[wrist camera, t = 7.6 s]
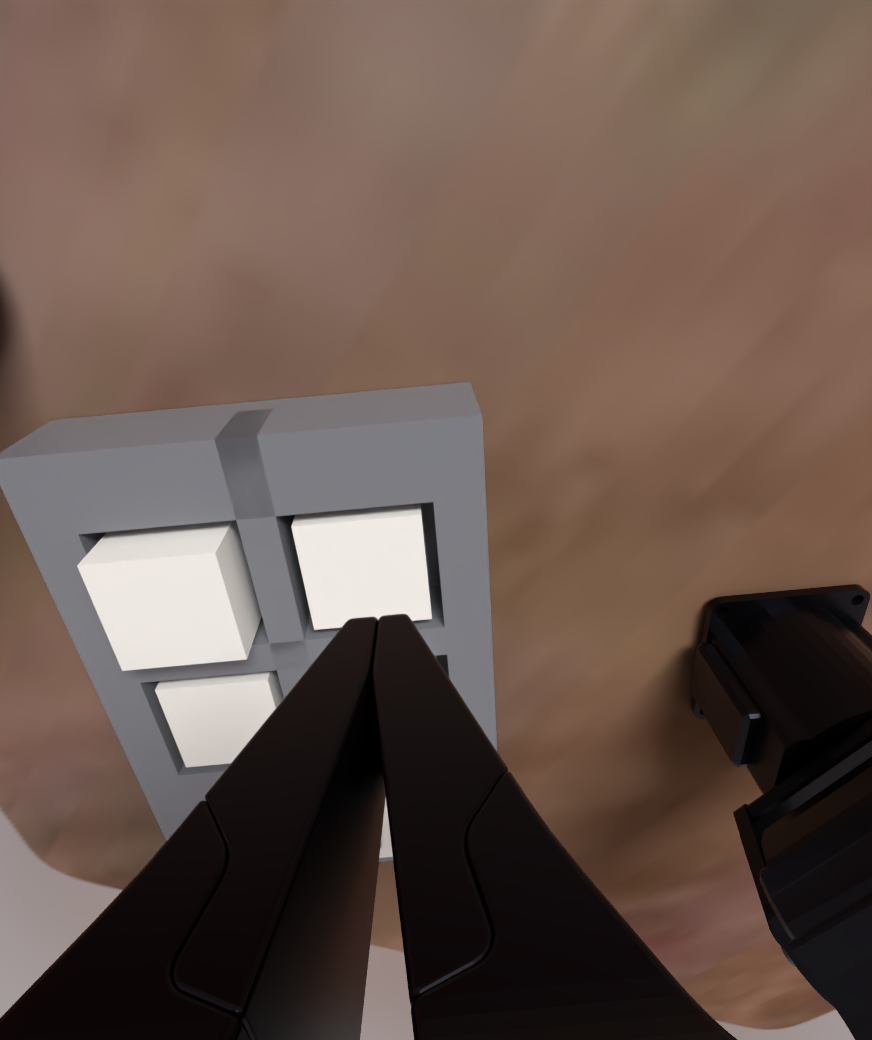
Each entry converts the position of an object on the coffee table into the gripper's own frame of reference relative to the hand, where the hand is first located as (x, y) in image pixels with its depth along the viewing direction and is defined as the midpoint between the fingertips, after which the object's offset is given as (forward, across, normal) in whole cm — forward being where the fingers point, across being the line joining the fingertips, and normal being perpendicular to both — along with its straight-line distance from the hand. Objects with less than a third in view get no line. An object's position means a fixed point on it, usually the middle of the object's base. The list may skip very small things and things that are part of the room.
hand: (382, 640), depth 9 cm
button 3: (+12, +2, +5) cm, 13 cm away
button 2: (+12, +8, +11) cm, 18 cm away
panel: (+13, +4, +10) cm, 17 cm away
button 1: (+11, +8, +5) cm, 14 cm away
